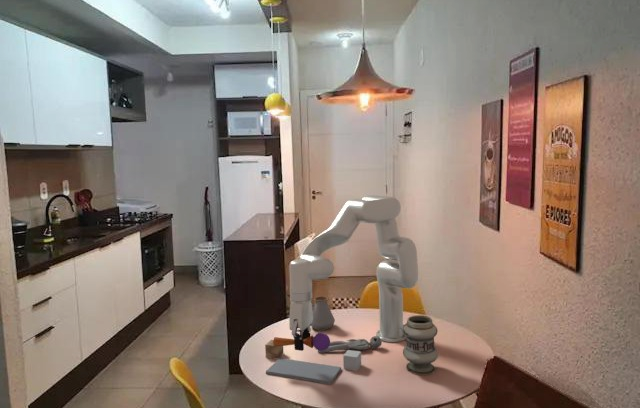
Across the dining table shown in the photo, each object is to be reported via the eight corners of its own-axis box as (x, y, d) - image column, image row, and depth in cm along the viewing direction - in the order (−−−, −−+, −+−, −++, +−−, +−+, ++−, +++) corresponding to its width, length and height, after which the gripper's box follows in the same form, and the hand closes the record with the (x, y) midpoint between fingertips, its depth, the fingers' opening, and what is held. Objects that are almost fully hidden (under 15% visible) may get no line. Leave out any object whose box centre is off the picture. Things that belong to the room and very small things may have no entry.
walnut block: (283, 353, 179) (283, 341, 178) (277, 359, 174) (277, 346, 174) (271, 352, 180) (271, 339, 180) (265, 357, 176) (265, 344, 175)
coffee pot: (335, 322, 210) (334, 289, 209) (334, 331, 199) (333, 297, 197) (288, 322, 211) (287, 290, 210) (285, 332, 200) (283, 298, 198)
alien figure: (316, 336, 184) (379, 332, 185) (317, 348, 185) (380, 343, 185) (317, 345, 176) (383, 340, 177) (318, 357, 177) (383, 352, 177)
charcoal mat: (341, 369, 164) (341, 367, 164) (330, 384, 154) (330, 381, 153) (280, 360, 173) (279, 358, 172) (265, 373, 162) (265, 371, 162)
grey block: (361, 365, 167) (361, 351, 167) (357, 371, 163) (356, 357, 162) (348, 363, 169) (347, 349, 169) (343, 369, 164) (343, 355, 164)
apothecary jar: (395, 367, 164) (395, 318, 162) (418, 357, 171) (418, 310, 169) (422, 380, 155) (422, 327, 153) (445, 369, 162) (445, 319, 160)
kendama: (277, 331, 168) (331, 331, 162) (278, 348, 167) (332, 348, 162) (271, 334, 162) (327, 334, 157) (272, 352, 161) (328, 352, 156)
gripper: (301, 288, 169) (302, 336, 171) (280, 302, 154) (282, 355, 155) (320, 289, 167) (321, 338, 169) (301, 304, 151) (302, 358, 153)
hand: (302, 346), depth 162 cm, fingers closed on kendama, 5 cm apart
